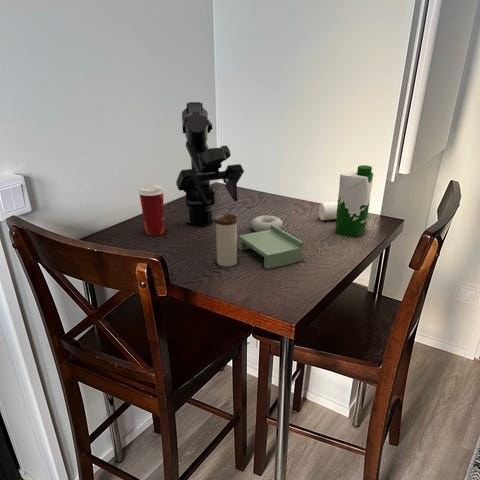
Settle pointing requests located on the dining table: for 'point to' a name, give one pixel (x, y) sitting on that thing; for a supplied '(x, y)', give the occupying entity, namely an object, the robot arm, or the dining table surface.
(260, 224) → the donut
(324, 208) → the roll
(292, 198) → the dining table surface
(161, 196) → the paper cup
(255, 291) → the dining table surface
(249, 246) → the shelf
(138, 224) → the dining table surface
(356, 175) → the milk carton
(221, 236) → the canister
